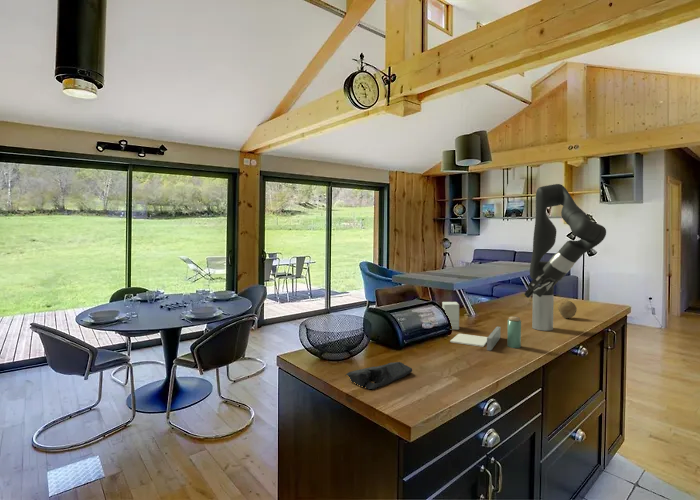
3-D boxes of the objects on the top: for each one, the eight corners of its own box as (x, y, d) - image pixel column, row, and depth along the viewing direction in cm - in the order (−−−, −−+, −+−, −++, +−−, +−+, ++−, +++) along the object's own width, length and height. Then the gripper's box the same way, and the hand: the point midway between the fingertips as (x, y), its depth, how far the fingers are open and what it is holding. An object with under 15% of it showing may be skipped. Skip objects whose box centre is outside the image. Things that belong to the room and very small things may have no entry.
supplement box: (456, 326, 197) (456, 301, 197) (459, 329, 190) (459, 304, 189) (442, 325, 198) (442, 301, 197) (444, 329, 191) (444, 304, 190)
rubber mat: (458, 334, 181) (458, 333, 181) (489, 338, 174) (489, 337, 174) (450, 342, 169) (450, 340, 169) (483, 346, 162) (483, 345, 162)
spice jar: (508, 343, 166) (508, 315, 165) (521, 345, 163) (521, 317, 163) (506, 347, 161) (506, 318, 161) (519, 348, 159) (520, 319, 158)
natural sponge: (562, 315, 219) (562, 298, 218) (579, 318, 212) (579, 300, 211) (555, 318, 213) (555, 300, 212) (572, 321, 206) (573, 302, 206)
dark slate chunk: (419, 377, 130) (419, 363, 130) (367, 393, 117) (367, 378, 117) (390, 364, 143) (390, 352, 142) (340, 378, 130) (339, 364, 130)
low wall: (496, 337, 176) (496, 326, 176) (500, 337, 175) (500, 326, 175) (486, 350, 157) (486, 338, 157) (490, 350, 156) (491, 338, 156)
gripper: (560, 259, 153) (535, 288, 162) (541, 258, 145) (515, 289, 154) (575, 272, 149) (548, 302, 157) (556, 272, 140) (529, 303, 149)
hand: (532, 295), depth 155 cm, fingers open, 8 cm apart
